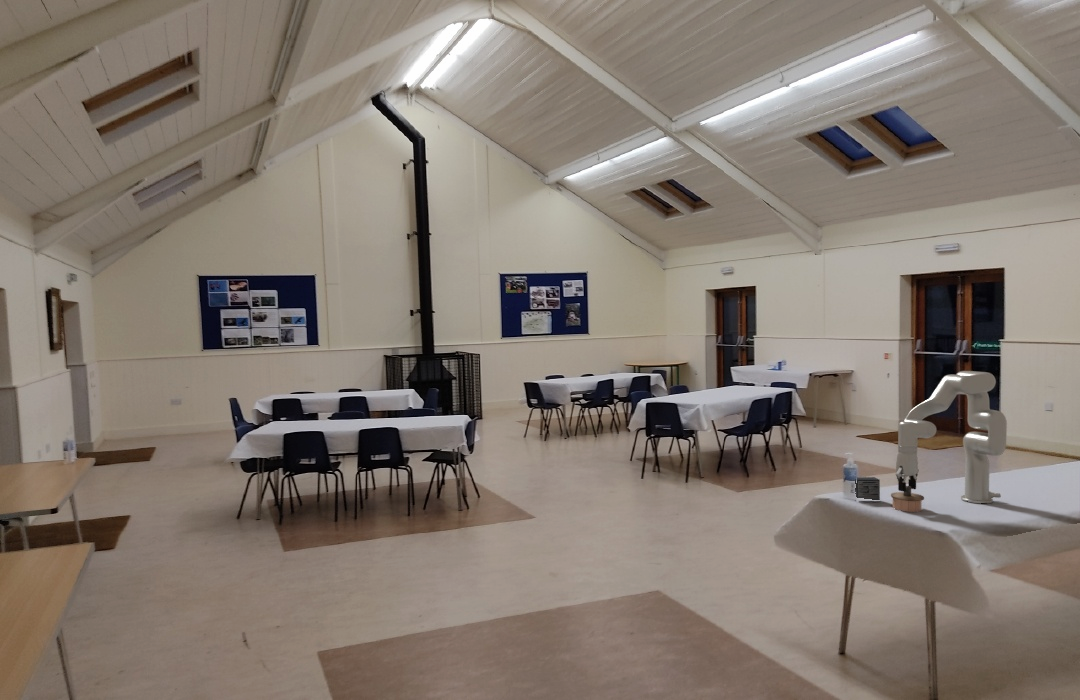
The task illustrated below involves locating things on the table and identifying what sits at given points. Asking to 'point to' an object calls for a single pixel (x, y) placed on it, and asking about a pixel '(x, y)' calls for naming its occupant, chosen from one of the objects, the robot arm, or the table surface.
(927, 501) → the table surface
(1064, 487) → the table surface
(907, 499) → the lid
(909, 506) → the bowl
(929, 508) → the table surface
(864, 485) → the small box
